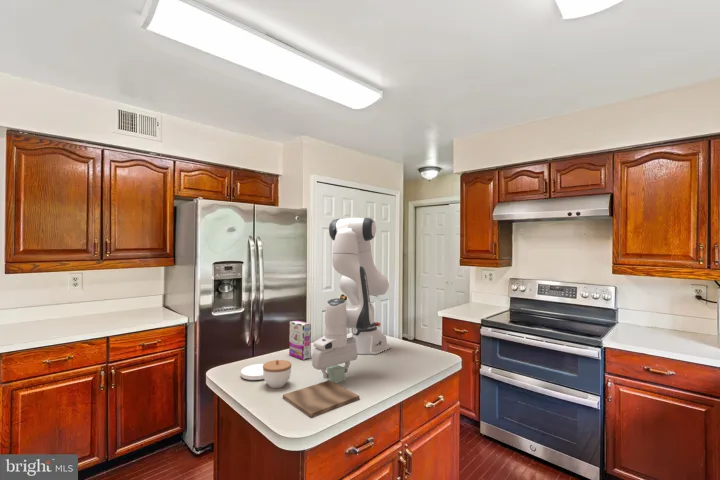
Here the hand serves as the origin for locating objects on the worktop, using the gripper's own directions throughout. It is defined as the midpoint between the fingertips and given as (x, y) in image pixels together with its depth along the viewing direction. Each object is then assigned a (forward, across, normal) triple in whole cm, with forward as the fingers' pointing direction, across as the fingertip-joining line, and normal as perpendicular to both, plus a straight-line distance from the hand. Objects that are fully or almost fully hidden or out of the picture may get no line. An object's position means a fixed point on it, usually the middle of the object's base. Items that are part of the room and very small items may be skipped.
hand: (335, 375), depth 138 cm
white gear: (+2, +21, -25) cm, 33 cm away
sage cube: (+2, 0, 0) cm, 2 cm away
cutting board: (+2, +14, +10) cm, 17 cm away
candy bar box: (+2, -4, -34) cm, 34 cm away
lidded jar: (+2, +20, -11) cm, 23 cm away
